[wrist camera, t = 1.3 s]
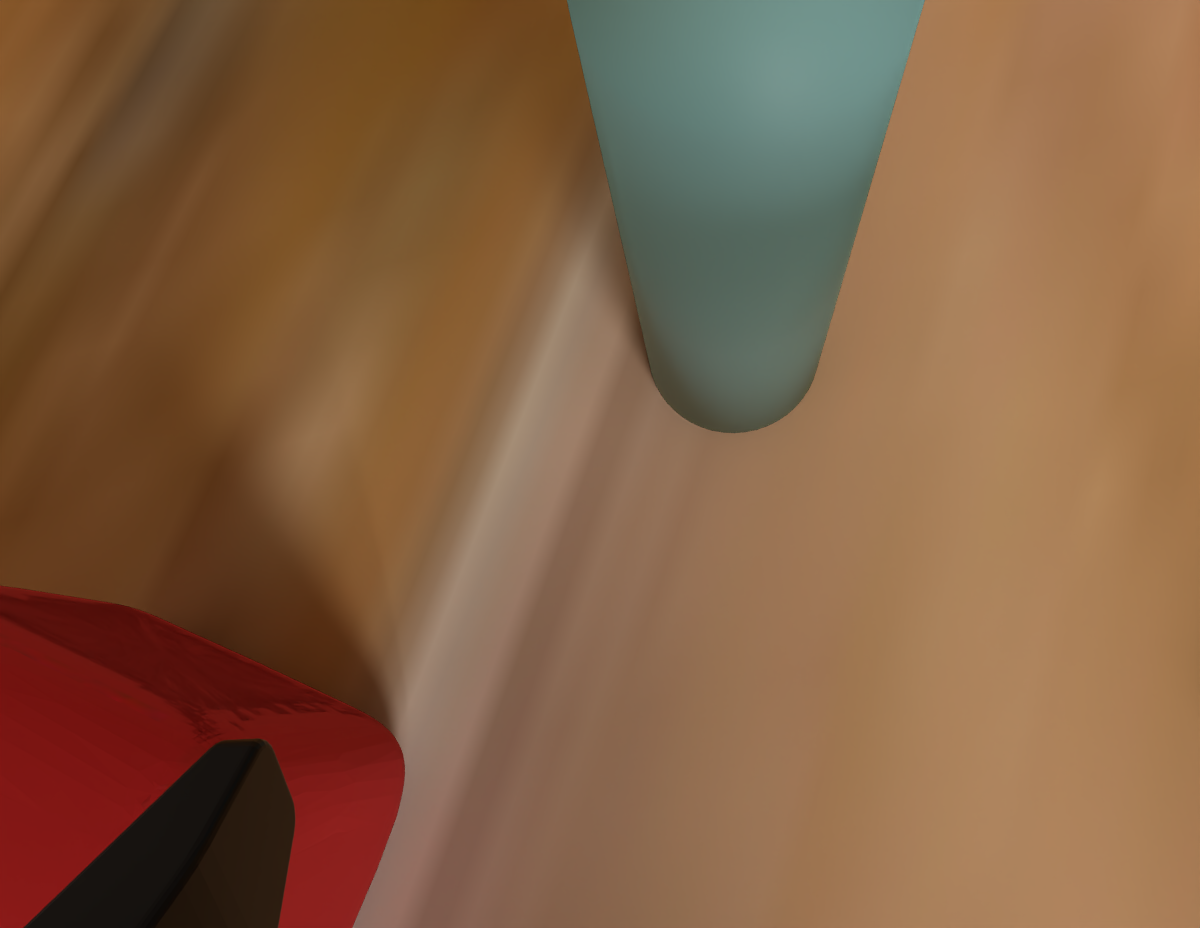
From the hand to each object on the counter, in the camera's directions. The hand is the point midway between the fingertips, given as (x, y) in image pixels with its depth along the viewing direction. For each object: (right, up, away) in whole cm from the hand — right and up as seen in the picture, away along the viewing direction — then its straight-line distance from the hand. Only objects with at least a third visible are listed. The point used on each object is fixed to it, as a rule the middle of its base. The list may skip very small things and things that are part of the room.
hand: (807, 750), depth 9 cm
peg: (+1, +5, +15) cm, 15 cm away
